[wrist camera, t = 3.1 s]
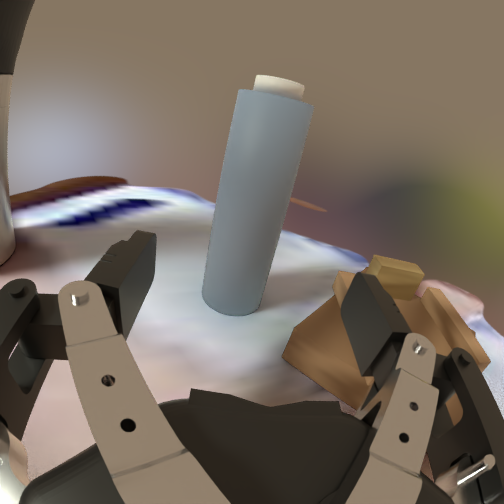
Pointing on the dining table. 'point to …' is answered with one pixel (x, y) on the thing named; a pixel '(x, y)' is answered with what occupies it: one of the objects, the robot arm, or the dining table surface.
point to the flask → (254, 192)
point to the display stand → (338, 345)
